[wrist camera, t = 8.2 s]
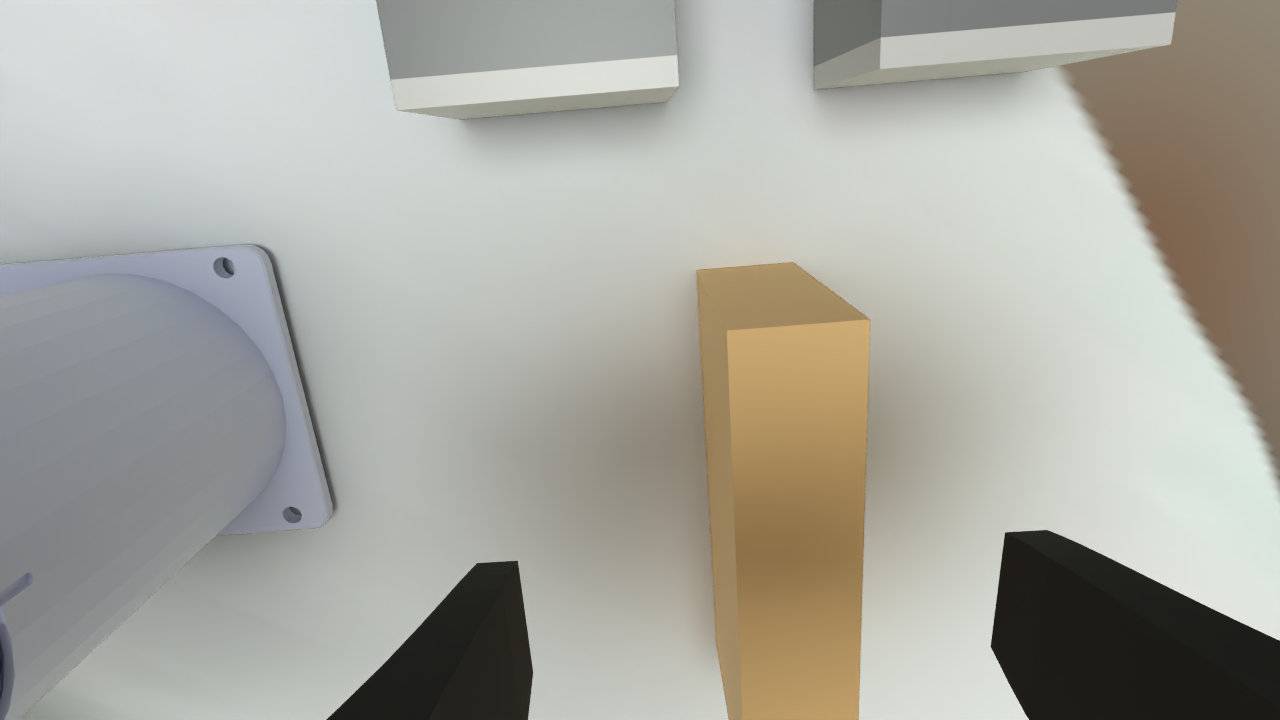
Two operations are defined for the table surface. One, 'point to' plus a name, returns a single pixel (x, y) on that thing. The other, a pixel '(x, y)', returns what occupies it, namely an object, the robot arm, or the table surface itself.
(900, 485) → the table surface
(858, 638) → the tan rectangular block
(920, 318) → the table surface
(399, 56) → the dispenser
